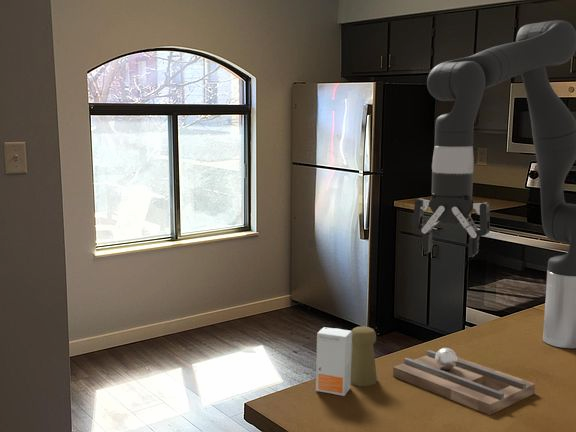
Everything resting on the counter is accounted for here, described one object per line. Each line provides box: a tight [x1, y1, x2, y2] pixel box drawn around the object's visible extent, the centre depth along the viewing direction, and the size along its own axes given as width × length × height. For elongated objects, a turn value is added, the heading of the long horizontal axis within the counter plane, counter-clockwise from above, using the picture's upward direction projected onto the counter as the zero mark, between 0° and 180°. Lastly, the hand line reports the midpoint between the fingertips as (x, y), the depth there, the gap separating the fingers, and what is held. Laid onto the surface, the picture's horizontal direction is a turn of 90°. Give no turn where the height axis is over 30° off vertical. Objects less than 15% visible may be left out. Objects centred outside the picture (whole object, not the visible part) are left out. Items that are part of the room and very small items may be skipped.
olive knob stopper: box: [351, 325, 378, 387], centre depth 132 cm, size 6×6×11 cm
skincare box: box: [315, 326, 353, 397], centre depth 127 cm, size 6×4×12 cm
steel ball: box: [435, 347, 458, 370], centre depth 133 cm, size 4×4×4 cm
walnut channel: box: [392, 349, 536, 416], centre depth 131 cm, size 15×23×3 cm, turn 39°
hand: (449, 254), depth 126 cm, fingers open, 8 cm apart
